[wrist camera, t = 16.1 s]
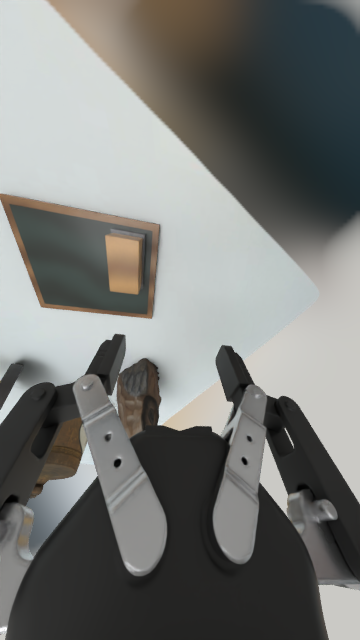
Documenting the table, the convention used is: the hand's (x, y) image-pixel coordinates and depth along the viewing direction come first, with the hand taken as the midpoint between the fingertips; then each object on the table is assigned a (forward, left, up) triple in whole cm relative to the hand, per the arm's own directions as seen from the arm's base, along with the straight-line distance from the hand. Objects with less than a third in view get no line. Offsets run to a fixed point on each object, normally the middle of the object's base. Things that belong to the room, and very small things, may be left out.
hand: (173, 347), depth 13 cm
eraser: (-1, -7, -19) cm, 21 cm away
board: (+1, -14, -21) cm, 25 cm away
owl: (+31, -5, -21) cm, 38 cm away
